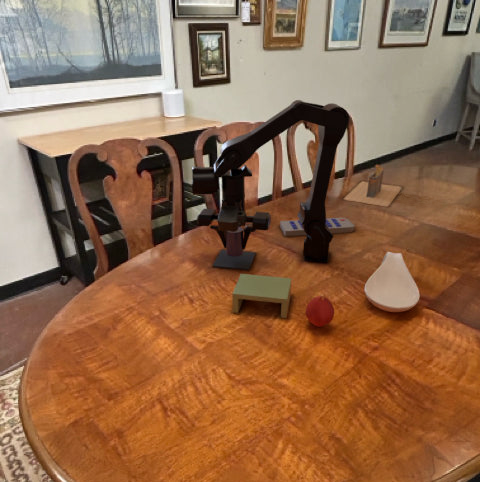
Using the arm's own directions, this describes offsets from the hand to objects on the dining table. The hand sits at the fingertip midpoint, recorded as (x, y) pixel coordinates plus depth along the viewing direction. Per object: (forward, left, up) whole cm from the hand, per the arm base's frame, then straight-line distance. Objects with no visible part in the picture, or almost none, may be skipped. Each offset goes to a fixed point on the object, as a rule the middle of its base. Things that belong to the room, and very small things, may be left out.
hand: (234, 248), depth 114 cm
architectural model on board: (-41, -64, -4) cm, 76 cm away
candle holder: (0, 0, -1) cm, 1 cm away
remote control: (-21, -25, -4) cm, 33 cm away
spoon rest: (-40, +9, -4) cm, 41 cm away
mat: (0, 0, -4) cm, 4 cm away
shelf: (-11, +20, -4) cm, 23 cm away
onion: (-24, +26, -4) cm, 36 cm away
